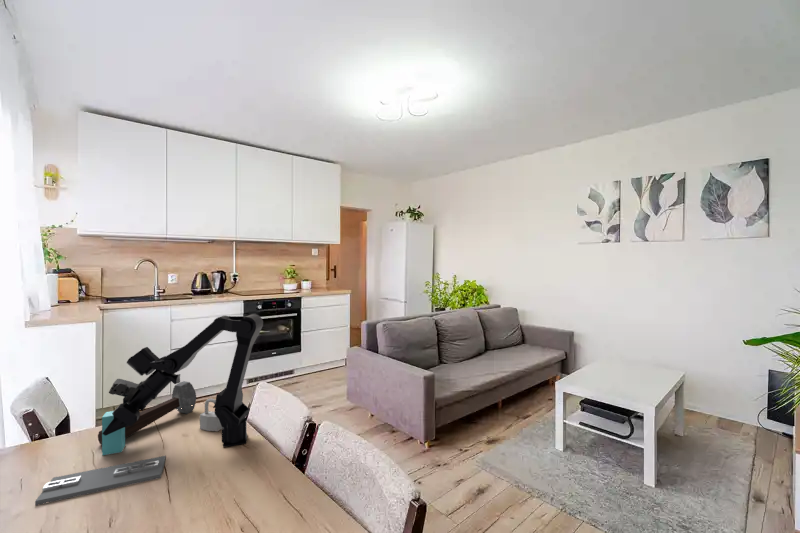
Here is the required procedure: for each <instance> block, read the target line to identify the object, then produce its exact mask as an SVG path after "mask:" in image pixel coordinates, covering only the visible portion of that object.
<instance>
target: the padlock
mask: <svg viewBox="0 0 800 533" xmlns="http://www.w3.org/2000/svg"><path fill="white" fill-rule="evenodd" d="M209 403H213V404H214V405H215V403H216V398H208V399H206V400H205V403H204V412H203V413H200V414H199V430H202V431H203V430H204V431H206V432H218V431H221V430H222V426H221V423H220V421H219V418H218V417H217V416H216V415H215V411H214V410H213V411H209V405H210V404H209Z"/></svg>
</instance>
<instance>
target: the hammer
mask: <svg viewBox="0 0 800 533" xmlns="http://www.w3.org/2000/svg"><path fill="white" fill-rule="evenodd" d="M171 394H172V395H171V398H170V399H168V400H165V401H163V402H161V403H157V404H156V405H154V406H151V407H149V408H145V409H144V410H143V411H142V410H141V411H139V412H140V417H139V418H138V420H137V421H136V422H135V423H134V424H133V425H132V426H126V427H125V439H127V438H129V437H131V436H132V435H134V434H136V433H137V432H140V430H143V429H144V428H146V427H147V426H149V425H151V424H153V423H154V422H156V421H157V420H159V419H161V418H163V417H164V416H166V415H168V414H169V413H171V412H173V411H174V410H176V411H177V412H179V413H182V414H186V415H188V414H191V413H192V412H193V411H194V410H195V407H196V400H197V393H196V390H195V387H194V386H193V384H192V383H191V382H190V381H184V380H183V381H180V383H177V384H174V387H173V388H172V393H171ZM191 405H193V406H191ZM181 408H182V409H181ZM177 409H178V410H177ZM97 440H98V443H99V445H101V446H102V429H101V430H100V431H99V432H98V434H97Z"/></svg>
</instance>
